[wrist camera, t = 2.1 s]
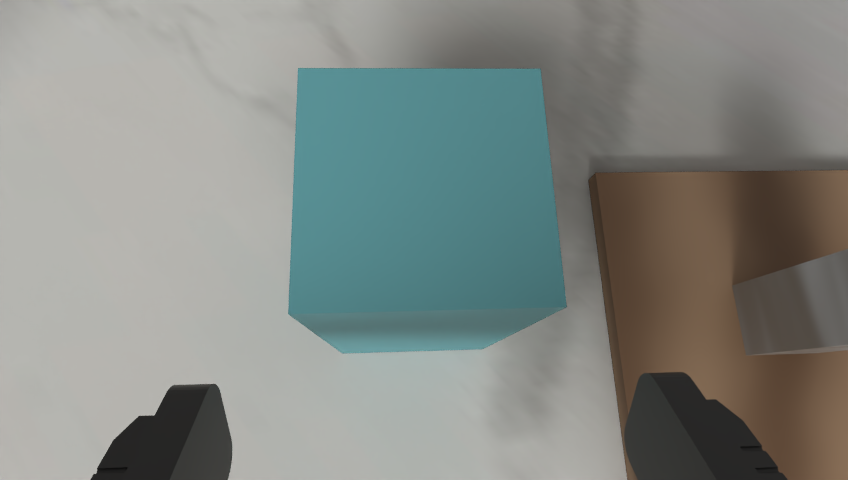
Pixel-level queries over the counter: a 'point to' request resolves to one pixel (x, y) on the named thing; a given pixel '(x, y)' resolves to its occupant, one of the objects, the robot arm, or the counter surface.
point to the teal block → (422, 208)
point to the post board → (734, 299)
